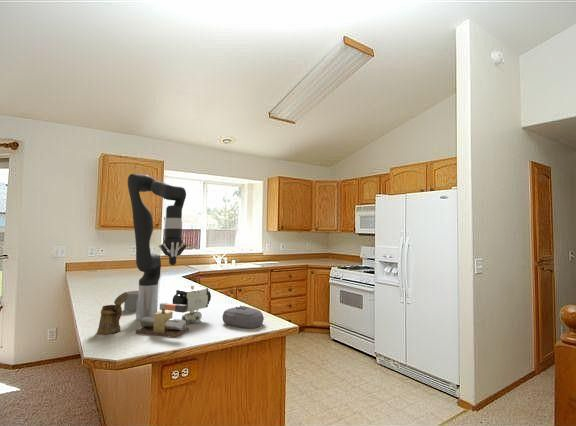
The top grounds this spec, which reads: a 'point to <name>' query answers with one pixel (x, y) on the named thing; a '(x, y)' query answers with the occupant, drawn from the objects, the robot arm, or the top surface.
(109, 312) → the wooden mug
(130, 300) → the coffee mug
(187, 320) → the ball valve
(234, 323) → the small grey backpack
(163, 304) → the valve lever
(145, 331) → the stand
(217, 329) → the top surface
